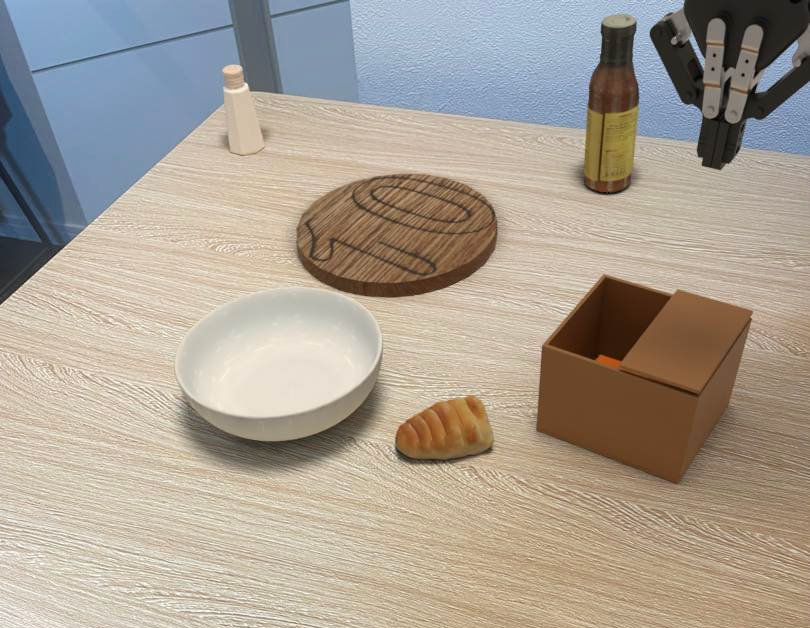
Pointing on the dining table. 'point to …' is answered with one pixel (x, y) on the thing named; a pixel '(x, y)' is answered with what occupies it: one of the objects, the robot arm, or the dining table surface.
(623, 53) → the sauce bottle
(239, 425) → the serving bowl
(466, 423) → the pastry
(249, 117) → the pepper shaker
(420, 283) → the trivet
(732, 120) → the robot arm
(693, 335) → the flap
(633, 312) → the carton
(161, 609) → the dining table surface
